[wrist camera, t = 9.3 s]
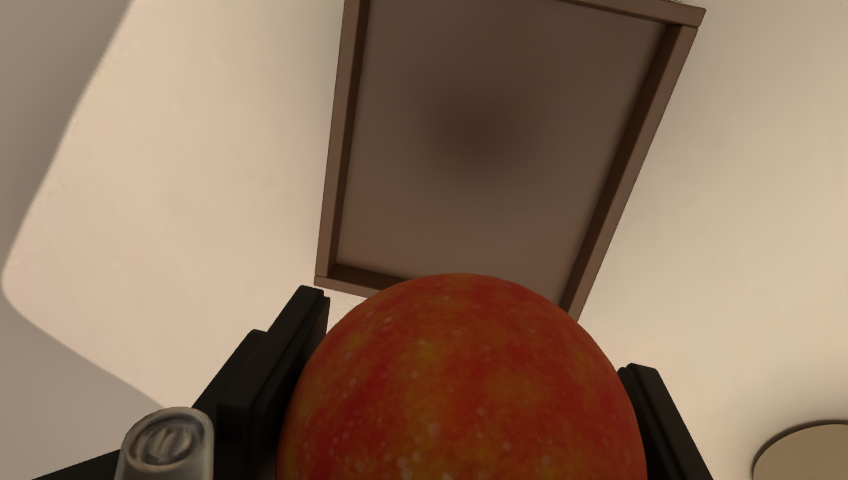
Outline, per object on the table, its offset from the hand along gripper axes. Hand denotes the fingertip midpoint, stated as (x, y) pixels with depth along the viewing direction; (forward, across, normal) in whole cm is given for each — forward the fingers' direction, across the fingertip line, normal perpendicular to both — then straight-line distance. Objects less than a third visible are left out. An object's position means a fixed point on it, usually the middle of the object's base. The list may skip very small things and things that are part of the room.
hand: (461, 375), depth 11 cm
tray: (+15, 0, -2) cm, 15 cm away
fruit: (+2, 0, 0) cm, 2 cm away
